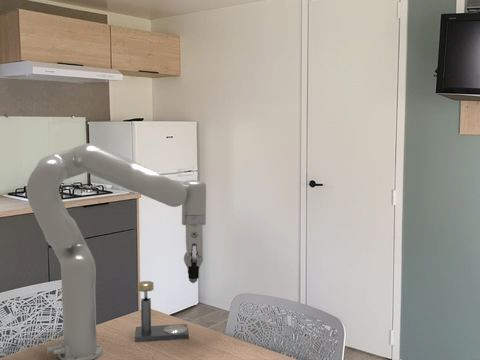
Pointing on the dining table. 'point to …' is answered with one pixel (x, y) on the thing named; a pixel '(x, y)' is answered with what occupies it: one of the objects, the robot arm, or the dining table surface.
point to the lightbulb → (186, 259)
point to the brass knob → (145, 287)
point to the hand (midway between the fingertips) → (193, 275)
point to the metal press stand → (157, 327)
